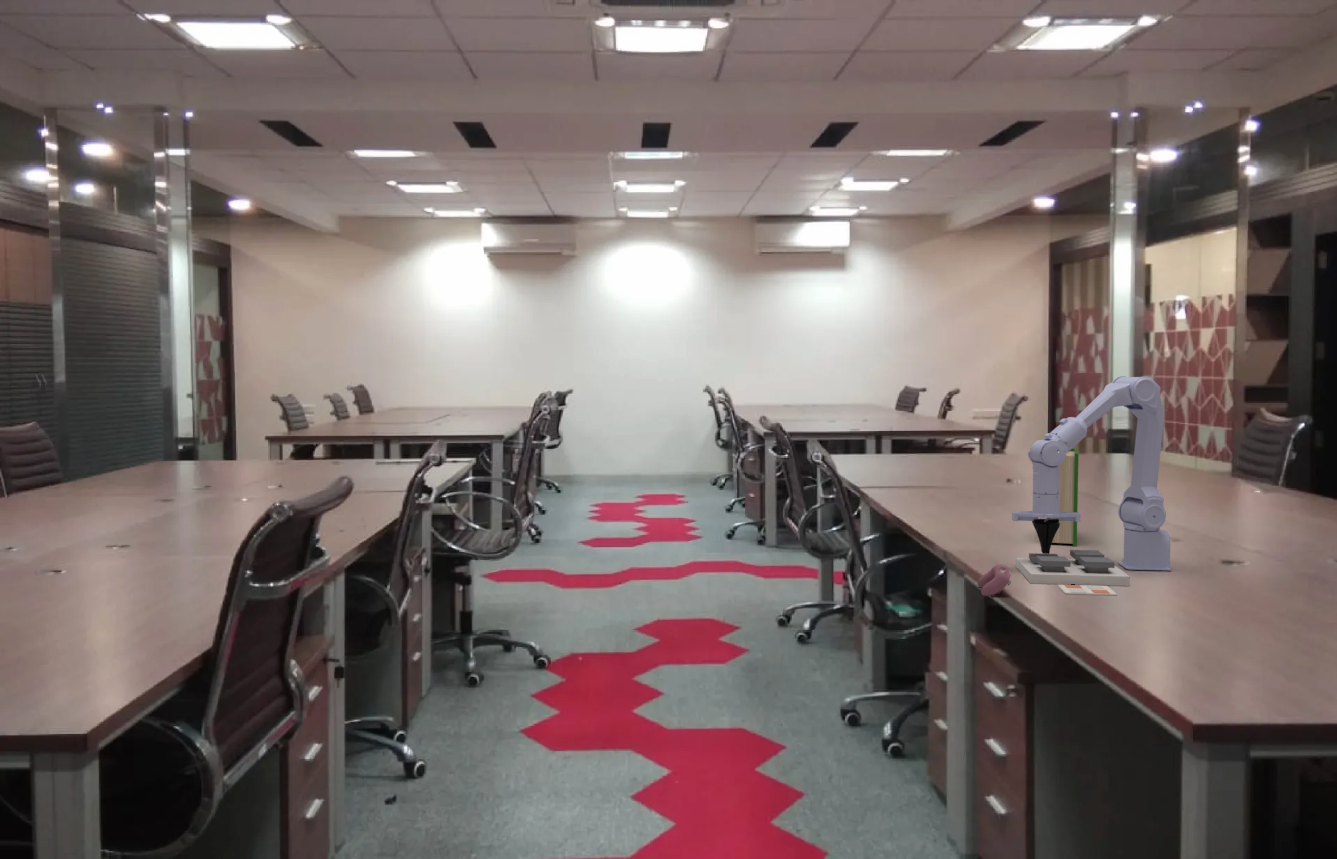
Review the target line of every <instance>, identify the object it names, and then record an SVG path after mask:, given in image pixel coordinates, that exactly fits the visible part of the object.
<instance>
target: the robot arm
mask: <svg viewBox="0 0 1337 859" xmlns="http://www.w3.org/2000/svg"><path fill="white" fill-rule="evenodd" d="M1117 407H1124V408H1127V409H1128V410H1129V411H1130V412H1131V413H1132V414H1133V415H1134V416H1135V417H1136V418H1137V423H1136V431H1135V442H1134V452H1133V460H1132V468H1131V469H1132V470H1131V471H1132V472H1131V481H1130V486H1129V487H1128V488H1127V489H1126V490H1125V491H1124V492H1123V498H1122V500H1121V502H1120V504H1119V507H1118V509H1117V510H1118V511H1117V512H1118V513H1117V514H1118V518H1119V520H1120V521H1121V522H1122V523H1123V525H1122V526H1123V530H1124V531H1123V535H1124V536H1123V560H1122V561H1121V560H1120V561H1117V564H1119V565H1120V566H1121V567H1123V568H1125V569H1126V570H1130V571H1132V570H1133V571H1135V570H1136V571H1137V570H1138V571H1139V570H1140V571H1171V570H1172V569H1171V536H1170V533H1169V531H1168V530H1166V529H1161V528H1162V527H1163V525H1164V524H1165V521H1166V517H1167V514H1166V510H1165V507H1164V499H1165V498H1164V497H1163V495H1162V494H1161V493H1160V491H1159V489H1158V481H1159V472H1160V470H1159V469H1160V459H1161V453H1162V452H1161V450H1162V442H1163V434H1164V433H1163V432H1164V420H1165V408H1164V405H1163V402H1162V399H1161V386H1160V385H1159V384H1158V383H1157V382H1156V381H1155V380H1153V378H1151V377H1149V376H1125V375H1121V376H1117V377H1116V378H1114V379H1112V381H1111V382H1110V383H1108V384H1106V385H1105V387H1104V389H1103V390H1102V391H1101V393H1100V394H1099V395H1097V396H1096V397H1095V398H1094V400H1092V401H1091V402H1090V403H1089V404H1088V405H1087V406H1086V407H1085V408H1084V409H1082V411H1081V412H1080V413H1079V414H1078V415H1076V417H1074V416H1070V417H1069V416H1068V417H1067V418H1062V419H1060V420H1059V421H1058V422H1059V425H1058V426H1056V427H1055V428H1054V429H1053V430H1051V431H1050V432H1049V433H1048V432H1047V433H1045V434H1044V438H1043V439H1038V440H1036V441H1034V443H1032V445H1031V447H1030V449H1029V451H1028V452H1027V457H1028V459H1029V461H1030V462H1031V464H1032V510H1023V511H1011V520H1012V521H1013V522H1018V521H1022V522H1025V521H1026V522H1032V526H1033V527H1034V530H1035V532H1036V534H1037V537H1038V540H1039V544H1040V551H1041V554H1051V547H1052V544H1053V543H1052V541H1053V538H1054V536H1055V534H1056V532H1057V530H1058V528H1059V526H1060V523H1059V521H1075V522H1077V523H1080V522H1081V513H1080V512H1078V511H1077V512H1059V502H1060V464H1061V463H1063V462H1064V460H1065V457H1066V453H1067V452H1068V451H1069V450H1071V449H1074V447H1075V446H1076V445H1078V444H1079V443H1080V442H1081V441H1082V440H1083V439H1084V438H1085V437H1087V434H1088V428H1089V427H1091V425H1093V424H1094V423H1096V422H1097V421H1098V420H1100V419H1101V418H1102V417H1103V416H1104V415H1107V413H1109V412H1110V411H1111V410H1112V409H1114V408H1117ZM1047 518H1057V519H1047Z"/></svg>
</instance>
